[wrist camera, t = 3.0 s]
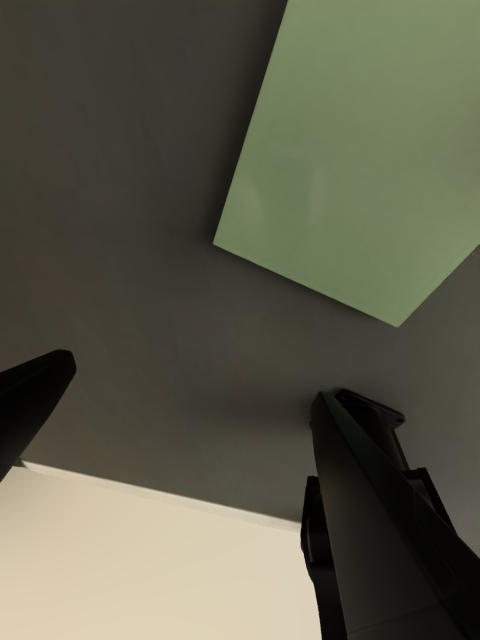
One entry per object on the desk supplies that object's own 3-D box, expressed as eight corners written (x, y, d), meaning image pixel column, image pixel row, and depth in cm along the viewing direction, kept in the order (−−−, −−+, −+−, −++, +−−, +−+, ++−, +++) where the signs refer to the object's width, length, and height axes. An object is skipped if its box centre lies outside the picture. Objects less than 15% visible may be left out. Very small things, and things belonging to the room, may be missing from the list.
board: (781, -107, 8) (878, -164, 6) (390, 317, 17) (397, 328, 16) (397, -319, 7) (419, -424, 6) (218, 239, 17) (212, 244, 16)
